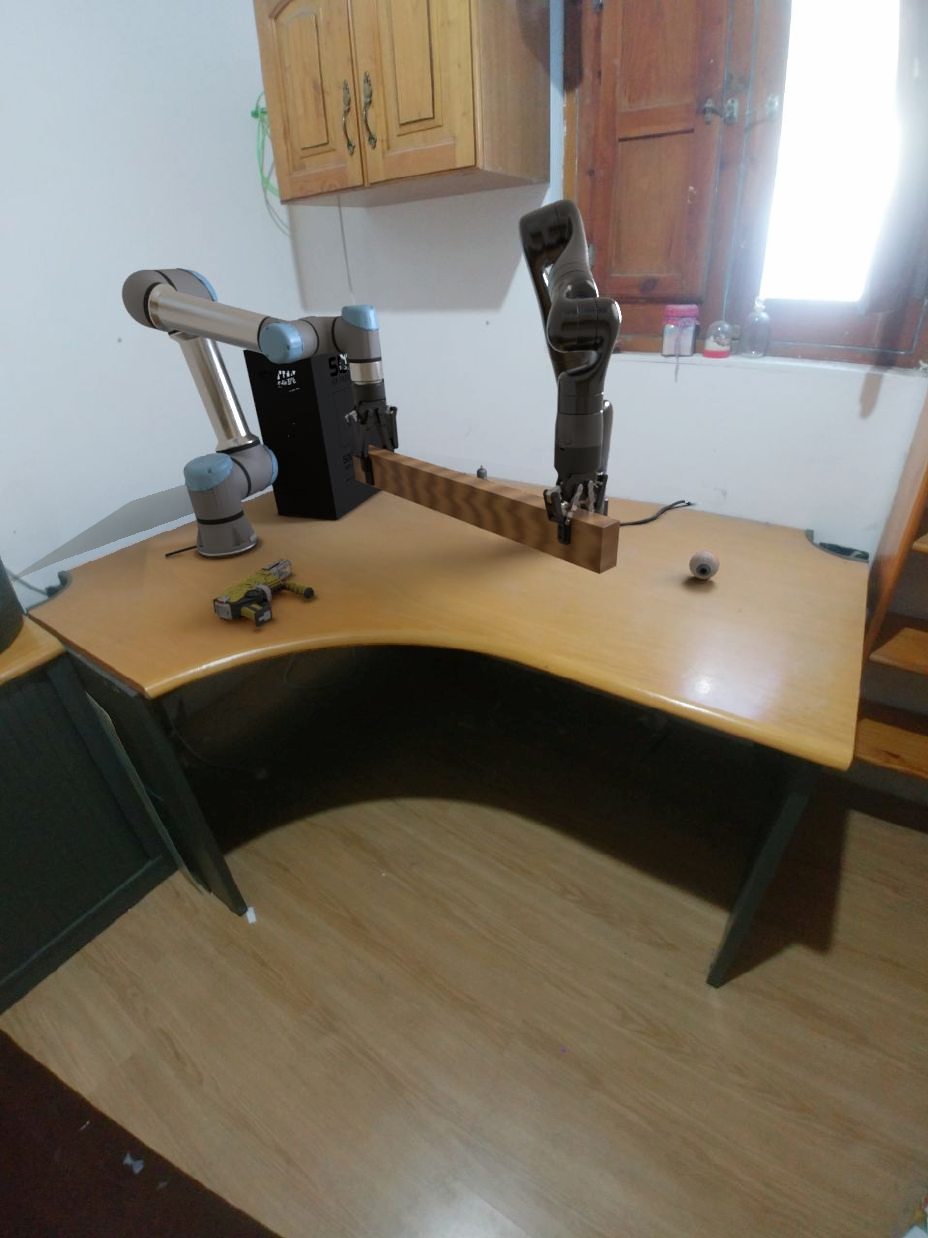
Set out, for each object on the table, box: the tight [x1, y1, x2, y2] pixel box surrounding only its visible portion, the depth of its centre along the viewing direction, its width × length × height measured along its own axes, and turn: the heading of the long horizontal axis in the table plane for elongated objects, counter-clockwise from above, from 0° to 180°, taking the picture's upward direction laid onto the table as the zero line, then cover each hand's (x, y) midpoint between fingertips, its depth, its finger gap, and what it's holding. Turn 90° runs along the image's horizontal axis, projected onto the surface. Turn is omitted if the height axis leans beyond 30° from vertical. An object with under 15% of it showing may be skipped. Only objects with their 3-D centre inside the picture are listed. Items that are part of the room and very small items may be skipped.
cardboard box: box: [242, 348, 388, 521], centre depth 180 cm, size 38×20×45 cm, turn 159°
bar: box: [353, 445, 621, 575], centre depth 126 cm, size 78×4×8 cm, turn 40°
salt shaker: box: [476, 464, 489, 481], centre depth 174 cm, size 6×6×12 cm
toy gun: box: [212, 558, 315, 628], centre depth 130 cm, size 5×24×15 cm
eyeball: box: [688, 550, 720, 580], centre depth 128 cm, size 6×6×6 cm
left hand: (379, 481), depth 149 cm, fingers closed on bar, 4 cm apart
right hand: (574, 538), depth 105 cm, fingers closed on bar, 4 cm apart
